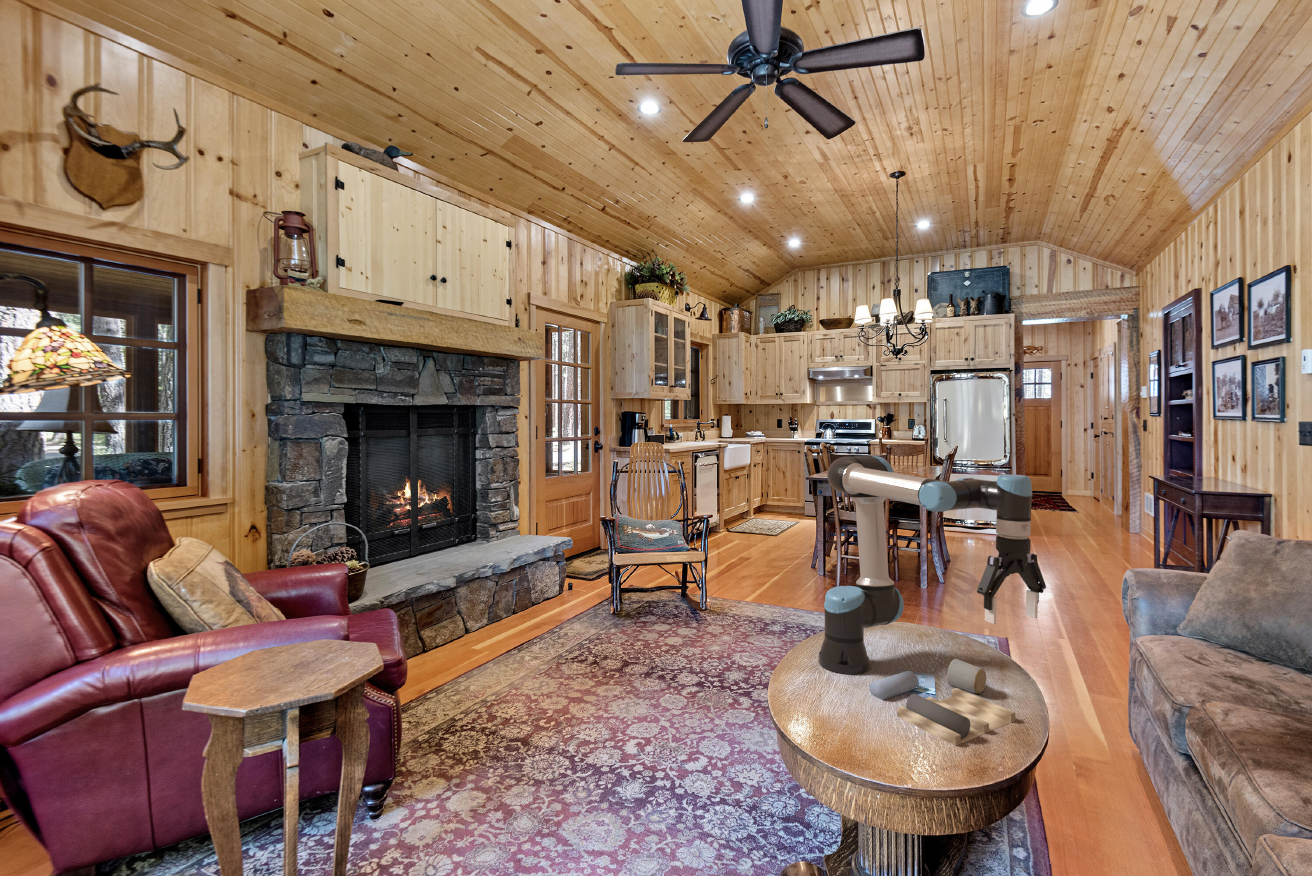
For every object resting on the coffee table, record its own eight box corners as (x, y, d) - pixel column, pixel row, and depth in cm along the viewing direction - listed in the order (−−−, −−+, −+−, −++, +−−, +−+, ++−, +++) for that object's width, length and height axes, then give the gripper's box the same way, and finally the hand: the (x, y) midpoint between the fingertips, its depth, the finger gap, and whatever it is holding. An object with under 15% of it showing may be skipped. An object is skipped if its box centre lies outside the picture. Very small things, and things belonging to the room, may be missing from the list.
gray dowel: (883, 704, 160) (885, 687, 159) (868, 695, 164) (870, 678, 163) (917, 693, 166) (919, 676, 166) (902, 684, 171) (904, 667, 170)
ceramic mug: (976, 698, 162) (977, 670, 162) (946, 688, 168) (946, 661, 168) (991, 688, 169) (992, 661, 169) (961, 679, 175) (962, 653, 175)
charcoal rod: (905, 715, 151) (906, 695, 151) (918, 711, 154) (919, 692, 154) (956, 740, 139) (957, 719, 139) (969, 736, 141) (970, 715, 142)
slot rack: (896, 718, 151) (897, 708, 151) (956, 697, 163) (956, 687, 163) (955, 748, 137) (955, 737, 137) (1015, 722, 149) (1015, 712, 149)
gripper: (987, 542, 142) (985, 629, 143) (1063, 536, 150) (1061, 619, 151) (962, 536, 150) (960, 619, 150) (1036, 530, 157) (1034, 610, 158)
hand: (1011, 619), depth 151 cm, fingers open, 13 cm apart
